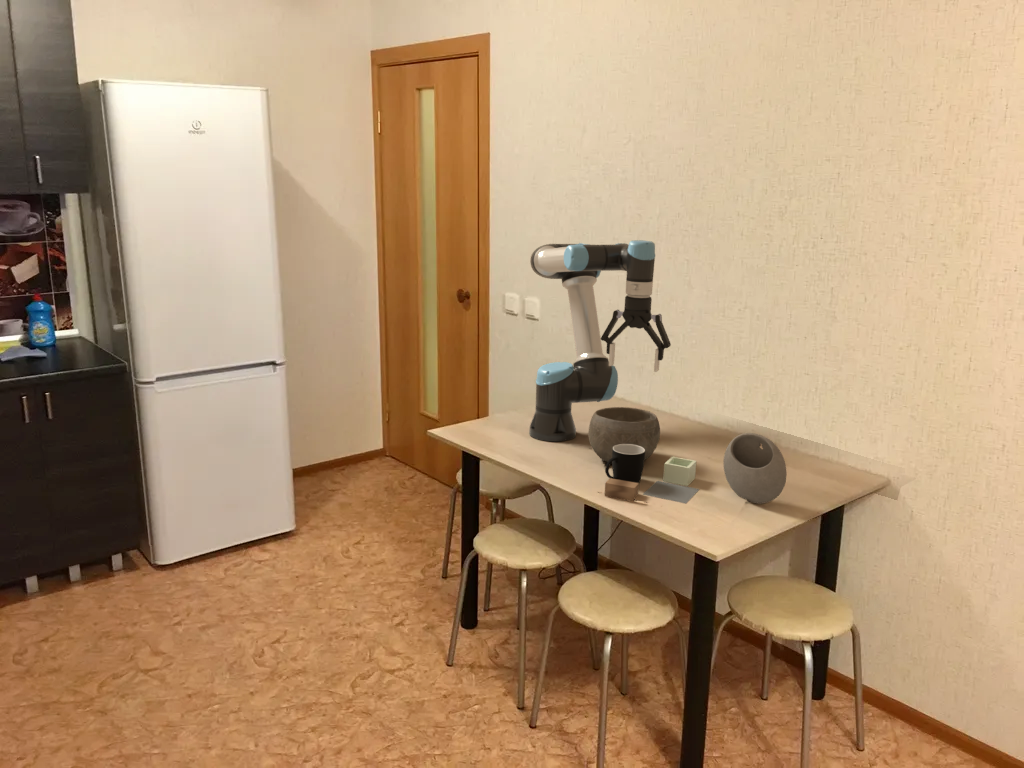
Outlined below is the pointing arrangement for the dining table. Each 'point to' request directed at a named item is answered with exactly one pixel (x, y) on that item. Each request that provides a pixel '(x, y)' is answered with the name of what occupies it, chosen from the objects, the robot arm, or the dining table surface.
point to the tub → (679, 471)
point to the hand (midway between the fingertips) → (633, 368)
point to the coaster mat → (671, 492)
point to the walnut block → (621, 489)
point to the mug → (626, 462)
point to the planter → (755, 468)
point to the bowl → (623, 430)
